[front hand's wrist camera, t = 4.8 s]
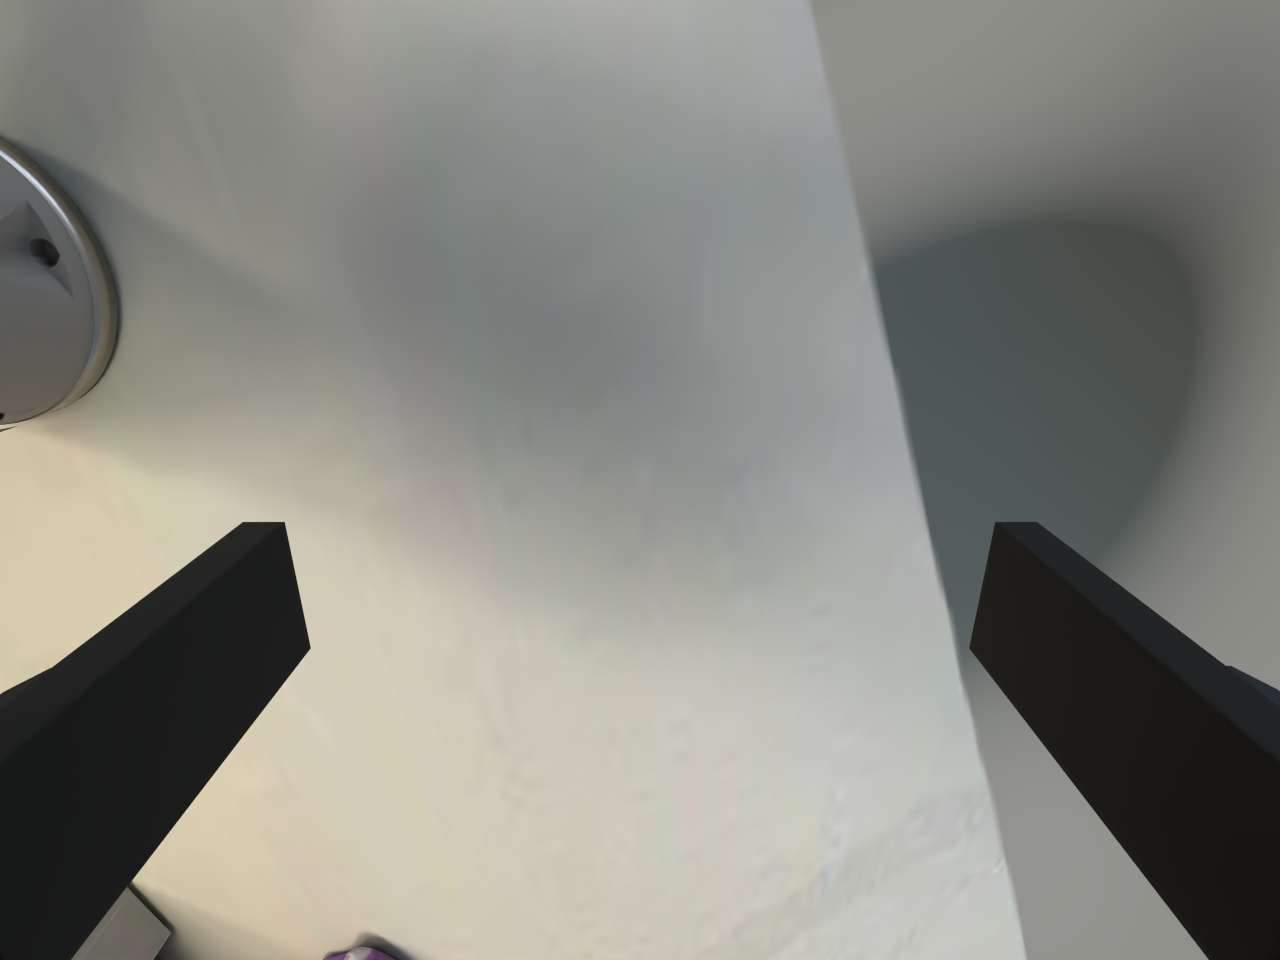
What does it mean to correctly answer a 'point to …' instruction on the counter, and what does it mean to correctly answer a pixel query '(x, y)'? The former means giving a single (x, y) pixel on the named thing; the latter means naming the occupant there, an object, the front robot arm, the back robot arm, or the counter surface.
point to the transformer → (125, 933)
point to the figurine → (361, 955)
